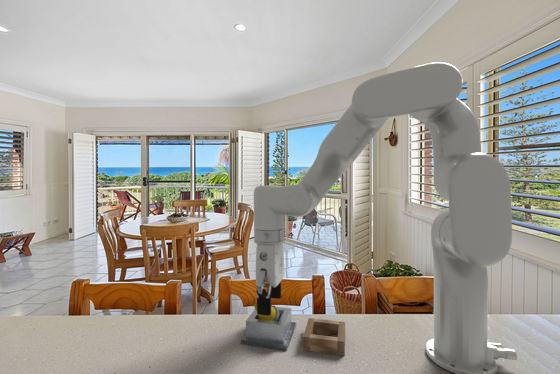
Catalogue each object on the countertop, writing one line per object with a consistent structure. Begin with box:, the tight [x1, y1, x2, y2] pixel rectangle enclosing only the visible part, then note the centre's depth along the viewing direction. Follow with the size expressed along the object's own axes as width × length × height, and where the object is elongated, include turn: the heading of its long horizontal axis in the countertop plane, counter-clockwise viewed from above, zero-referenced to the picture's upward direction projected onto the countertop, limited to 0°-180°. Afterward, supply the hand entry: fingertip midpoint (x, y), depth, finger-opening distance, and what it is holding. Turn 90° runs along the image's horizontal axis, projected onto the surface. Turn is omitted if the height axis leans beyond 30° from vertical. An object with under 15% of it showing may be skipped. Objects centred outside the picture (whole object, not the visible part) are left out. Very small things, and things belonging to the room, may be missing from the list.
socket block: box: [302, 317, 346, 357], centre depth 66 cm, size 9×9×3 cm
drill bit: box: [252, 302, 280, 321], centre depth 68 cm, size 5×5×10 cm
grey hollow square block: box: [239, 306, 297, 351], centre depth 69 cm, size 11×11×5 cm
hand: (269, 305), depth 69 cm, fingers open, 9 cm apart
